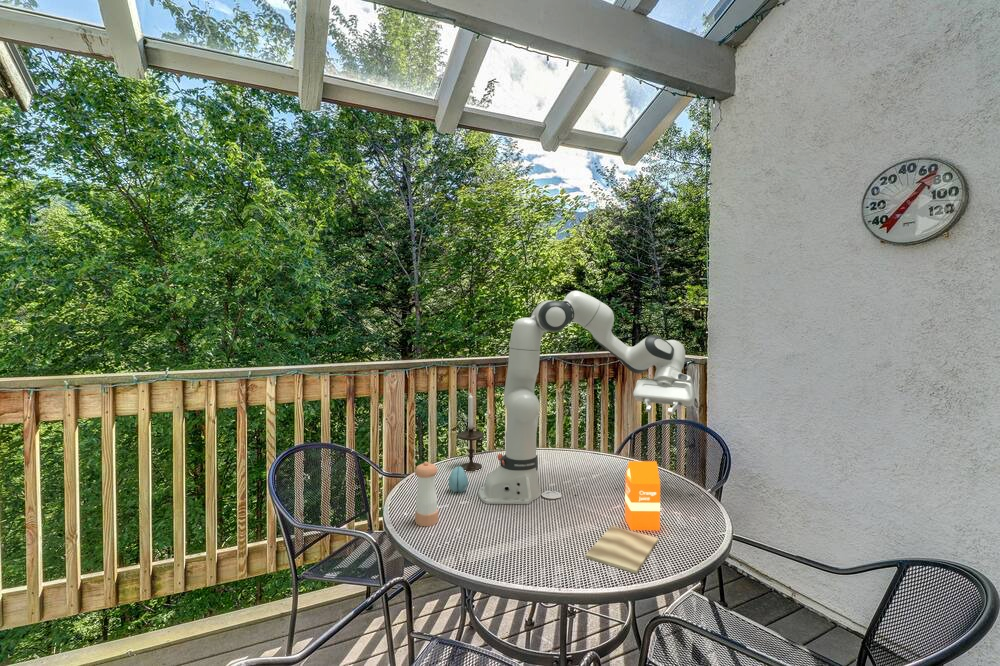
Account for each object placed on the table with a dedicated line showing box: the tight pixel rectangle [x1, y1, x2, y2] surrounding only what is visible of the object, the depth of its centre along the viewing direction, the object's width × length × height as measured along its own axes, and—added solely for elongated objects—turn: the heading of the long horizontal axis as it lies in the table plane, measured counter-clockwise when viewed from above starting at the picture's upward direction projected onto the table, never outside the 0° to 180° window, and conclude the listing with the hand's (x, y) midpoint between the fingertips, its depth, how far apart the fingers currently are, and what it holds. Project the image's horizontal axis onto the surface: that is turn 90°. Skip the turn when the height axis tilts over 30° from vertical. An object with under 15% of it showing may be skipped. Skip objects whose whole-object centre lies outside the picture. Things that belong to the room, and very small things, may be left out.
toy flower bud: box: [448, 465, 469, 493], centre depth 175 cm, size 7×9×12 cm
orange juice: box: [624, 460, 661, 531], centre depth 146 cm, size 8×9×20 cm
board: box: [585, 525, 659, 575], centre depth 132 cm, size 20×14×1 cm
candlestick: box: [457, 386, 485, 471], centre depth 197 cm, size 11×11×35 cm
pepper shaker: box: [414, 461, 439, 527], centre depth 149 cm, size 7×7×19 cm
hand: (659, 412), depth 160 cm, fingers open, 6 cm apart
